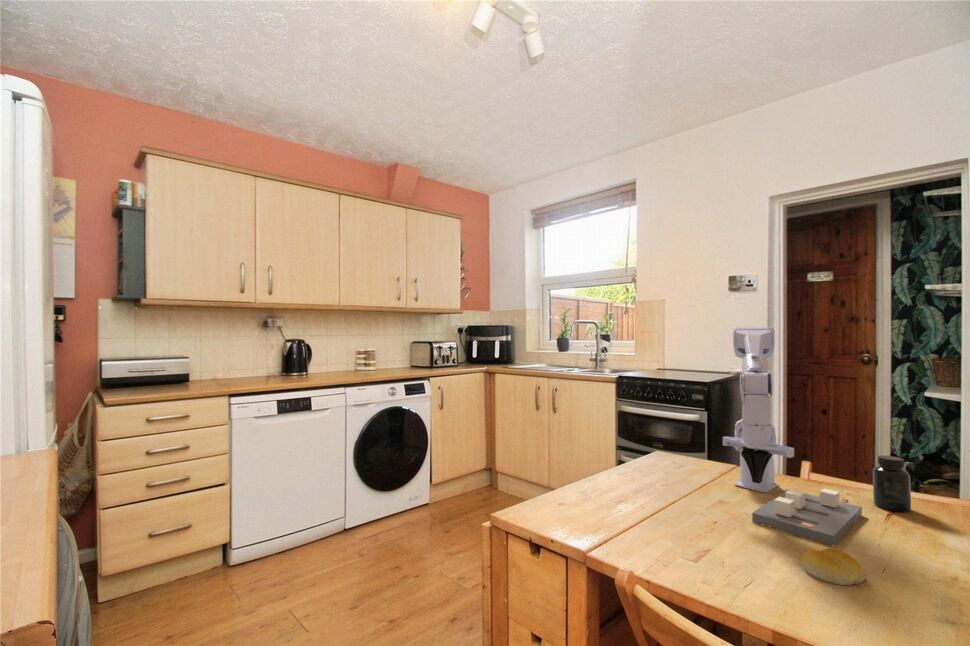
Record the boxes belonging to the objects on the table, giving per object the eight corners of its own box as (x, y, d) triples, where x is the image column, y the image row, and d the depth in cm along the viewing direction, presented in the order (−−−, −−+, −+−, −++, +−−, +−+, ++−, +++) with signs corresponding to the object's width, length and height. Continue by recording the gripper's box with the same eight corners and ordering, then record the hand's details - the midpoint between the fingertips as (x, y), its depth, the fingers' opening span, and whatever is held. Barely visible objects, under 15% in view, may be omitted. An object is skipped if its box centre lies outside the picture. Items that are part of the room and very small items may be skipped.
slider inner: (824, 501, 109) (823, 488, 109) (839, 504, 106) (839, 491, 106) (820, 504, 107) (820, 491, 107) (835, 507, 104) (835, 494, 104)
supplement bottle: (917, 510, 108) (916, 460, 108) (900, 515, 106) (899, 463, 106) (883, 500, 115) (882, 452, 115) (866, 504, 112) (866, 455, 112)
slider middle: (789, 502, 108) (789, 489, 108) (804, 505, 106) (804, 493, 106) (785, 505, 106) (785, 492, 106) (800, 509, 104) (800, 496, 104)
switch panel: (787, 497, 117) (787, 489, 117) (861, 515, 106) (861, 506, 106) (752, 521, 102) (752, 512, 103) (833, 545, 91) (833, 535, 91)
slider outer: (779, 509, 104) (779, 496, 104) (794, 513, 101) (794, 500, 101) (774, 513, 102) (774, 499, 102) (789, 517, 99) (789, 503, 99)
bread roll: (790, 564, 84) (790, 542, 84) (834, 561, 85) (833, 539, 86) (829, 589, 76) (829, 565, 76) (877, 585, 77) (876, 562, 77)
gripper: (716, 421, 109) (717, 477, 109) (786, 431, 98) (786, 494, 98) (729, 417, 114) (730, 471, 113) (796, 426, 102) (797, 487, 102)
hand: (757, 482), depth 106 cm, fingers closed
